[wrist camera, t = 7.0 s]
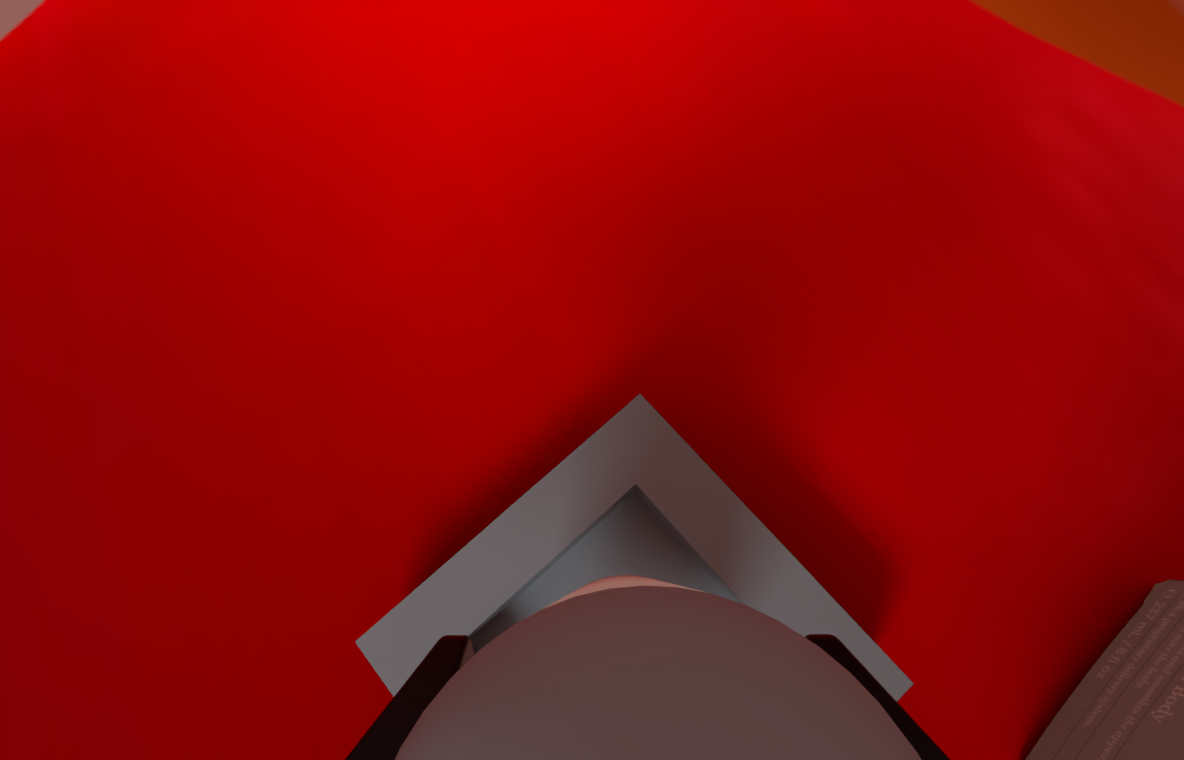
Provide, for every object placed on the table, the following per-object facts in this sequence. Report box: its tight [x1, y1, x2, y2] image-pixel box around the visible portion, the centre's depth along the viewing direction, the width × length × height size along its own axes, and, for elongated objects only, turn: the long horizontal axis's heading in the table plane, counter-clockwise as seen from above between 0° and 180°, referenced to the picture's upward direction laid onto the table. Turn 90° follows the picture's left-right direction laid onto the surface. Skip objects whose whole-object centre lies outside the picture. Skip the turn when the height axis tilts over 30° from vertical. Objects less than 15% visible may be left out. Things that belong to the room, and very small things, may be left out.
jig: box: [355, 394, 913, 702], centre depth 19 cm, size 11×11×3 cm
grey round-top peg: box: [395, 575, 921, 760], centre depth 9 cm, size 5×5×13 cm
